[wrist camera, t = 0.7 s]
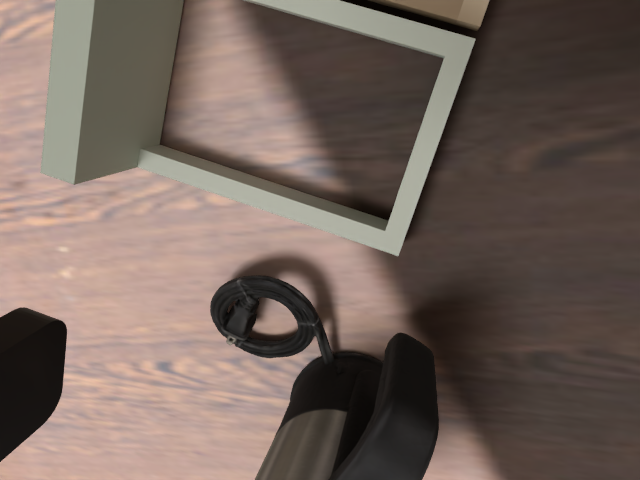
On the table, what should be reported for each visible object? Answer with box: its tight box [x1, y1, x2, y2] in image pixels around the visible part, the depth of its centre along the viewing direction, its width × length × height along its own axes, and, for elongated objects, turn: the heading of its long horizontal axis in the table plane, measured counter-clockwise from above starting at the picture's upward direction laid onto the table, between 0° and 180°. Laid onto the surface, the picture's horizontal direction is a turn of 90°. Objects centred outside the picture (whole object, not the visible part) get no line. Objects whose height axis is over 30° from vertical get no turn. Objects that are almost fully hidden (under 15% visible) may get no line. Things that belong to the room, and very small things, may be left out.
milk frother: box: [210, 276, 439, 480], centre depth 30 cm, size 14×16×15 cm
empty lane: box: [41, 0, 476, 256], centre depth 28 cm, size 12×19×8 cm, turn 74°
